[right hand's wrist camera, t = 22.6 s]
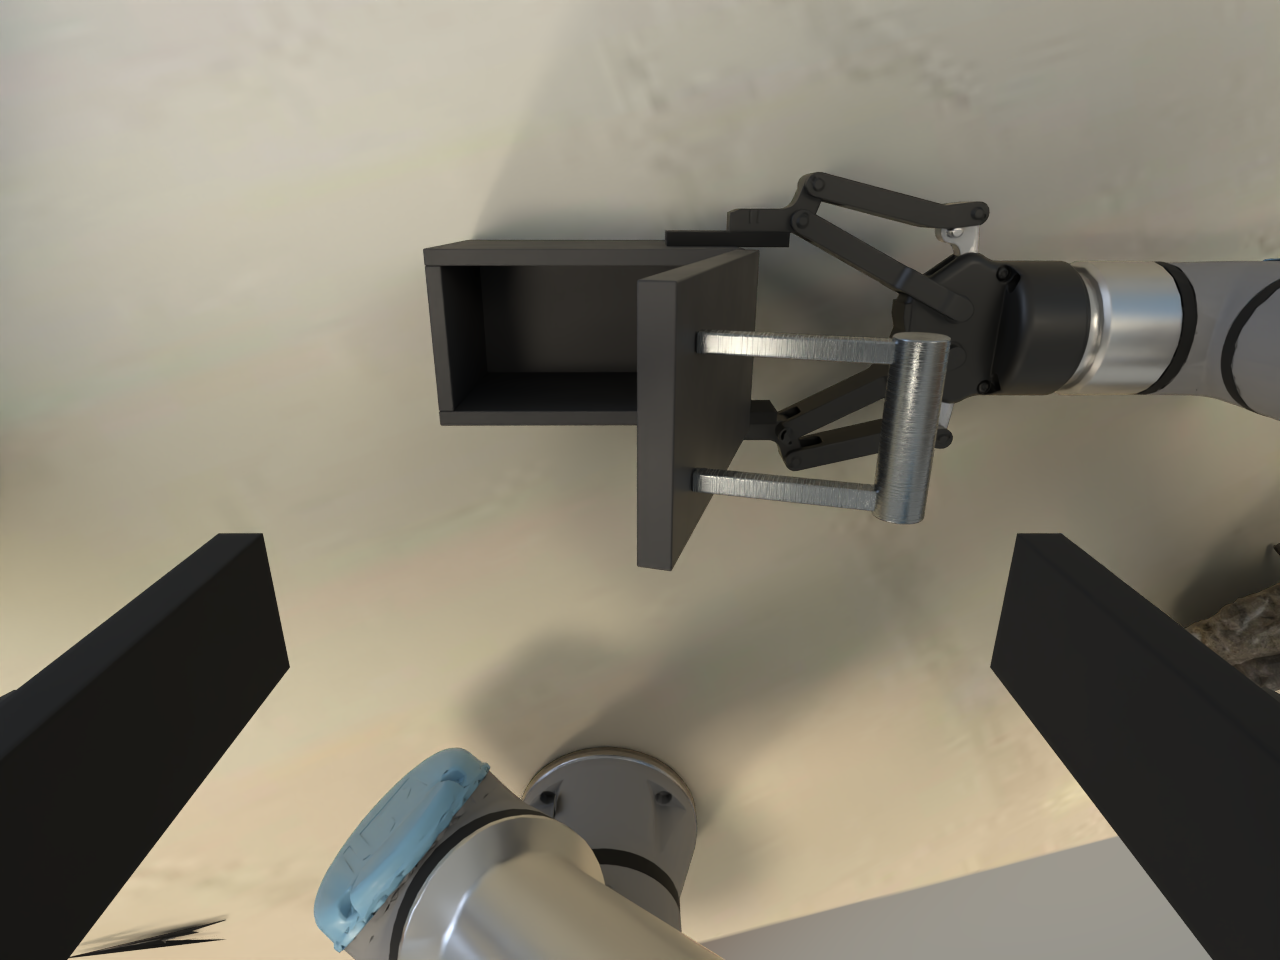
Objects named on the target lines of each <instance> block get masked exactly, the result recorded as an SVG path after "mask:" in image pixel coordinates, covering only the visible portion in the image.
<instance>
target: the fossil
mask: <svg viewBox="0 0 1280 960" xmlns="http://www.w3.org/2000/svg"><path fill="white" fill-rule="evenodd" d="M1274 549H1275V551H1276V552H1277V553H1278V554H1279V555H1280V543H1279V544H1277V545H1274ZM1184 629H1185V630H1187V631H1188V632H1189V633H1191V634H1192V635H1193V636H1194V637H1196V638H1197V639H1198V640H1200V641H1201V642H1202V643H1203V644H1205V645H1206V646H1207V647H1209V648H1210V649H1211V650H1212V651H1214V652H1215V653H1216V654H1218V655H1219V656H1220V657H1221V658H1223V659H1224V660H1225V661H1227V662H1228V663H1229V664H1231V665H1232V666H1233V667H1234V668H1236V669H1237V670H1238V671H1240V672H1241V673H1242V674H1243V675H1245V676H1246V677H1247V678H1249V679H1250V680H1251V681H1252V682H1254V683H1255V684H1256V685H1258V686H1259V687H1267V688H1269V689H1271V690H1273V691H1276V690H1280V583H1278V584H1276V585H1273V586H1271V587H1269V588H1267V589H1265V590H1262V591H1260V592H1258V593H1254V594H1250V595H1248V596H1246V597H1244V598H1238V599H1237V600H1236V601H1235V602H1234V603H1231V604H1227V605H1225V606H1224V607H1222V608H1221V610H1220V611H1219V612H1218V613H1217V614H1215V615H1214V616H1212V617H1211V618H1209V619H1205V620H1200V622H1195V623H1193V624H1192V625H1190V626H1189V627H1187V628H1184Z"/></svg>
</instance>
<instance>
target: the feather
mask: <svg viewBox="0 0 1280 960" xmlns="http://www.w3.org/2000/svg"><path fill="white" fill-rule="evenodd" d="M222 921H225V920H222ZM222 921H218V922H214V923H210V924H205V925H201V926H197V927H193V928H189V929H185V930H180V931H176V932H172V933H168V934H164V935H160V936H155V937H151V938H147V939H143V940H139V941H135V942H130V943H126V944H122V945H118V946H114V947H110V948H105V949H101V950H97V951H93V952H89V953H85V954H80V955H76V956H72V957H69V958H74V957H82V956H90V955H99V954H107V953H116V952H124V951H132V950H141V949H149V948H158V947H166V946H175V945H183V944H191V943H200V942H208V941H217V940H225V939H214V940H210V939H209V940H190V939H188V940H169V939H173V938H176V937H179V936H184V935H189V934H194V933H199V932H194V931H193V930H196V929H200V928H203V927H206V926H209V925H212V924H215V923H219V922H222ZM216 936H217V935H216ZM196 939H197V938H196ZM166 940H167V941H166Z"/></svg>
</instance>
